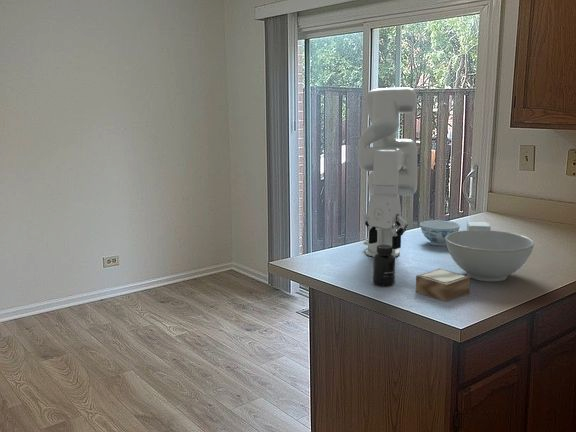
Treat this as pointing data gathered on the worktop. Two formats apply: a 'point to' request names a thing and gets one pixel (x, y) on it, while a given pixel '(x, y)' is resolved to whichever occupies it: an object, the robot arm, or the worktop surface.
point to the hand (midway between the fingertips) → (384, 245)
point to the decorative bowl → (488, 253)
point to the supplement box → (478, 226)
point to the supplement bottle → (384, 266)
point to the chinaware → (438, 230)
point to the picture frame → (442, 284)
